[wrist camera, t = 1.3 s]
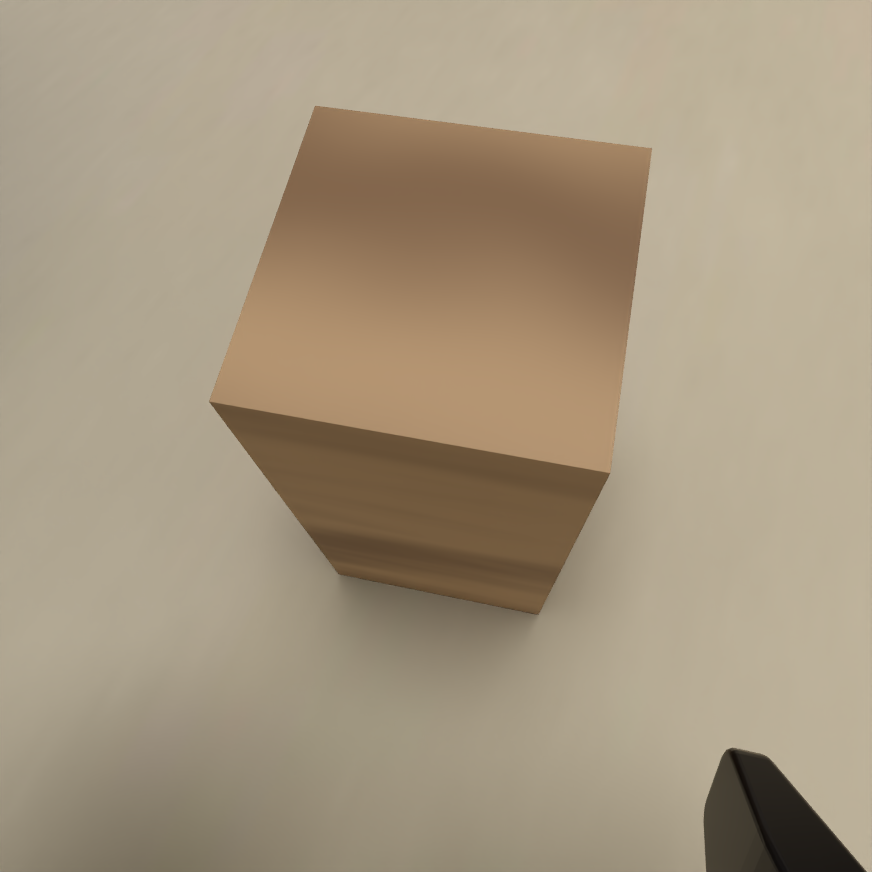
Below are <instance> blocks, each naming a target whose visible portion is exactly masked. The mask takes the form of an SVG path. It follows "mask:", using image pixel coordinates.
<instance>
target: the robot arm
mask: <svg viewBox="0 0 872 872" xmlns="http://www.w3.org/2000/svg"><path fill="white" fill-rule="evenodd" d="M704 839H705V857H706V872H866V870H865V869H864V868H863V867H862V866H861V865H860V863H859V862H858V861H857V860H856V859H855V858H854V856H853V855H852V854H851V853H850V852H849V850H848V849H847V848H846V847H845V846H844V845H843V843H842V842H841V841H840V840H839V839H838V838H837V836H836V835H835V834H834V833H833V832H832V831H831V829H830V828H829V827H828V826H827V825H826V824H825V822H824V821H823V820H822V819H821V818H820V817H819V815H818V814H817V813H816V812H815V811H814V810H813V808H812V807H811V806H810V805H809V804H808V803H807V801H806V800H805V799H804V798H803V797H802V795H801V794H800V793H799V792H798V791H797V790H796V788H795V787H794V786H793V785H792V784H791V783H790V781H789V780H788V779H787V778H786V777H785V776H784V774H783V773H782V772H781V771H780V770H779V769H778V767H777V766H776V765H775V764H774V763H773V762H772V761H771V760H770V759H769V758H768V757H767V756H765V755H763V754H759V753H755V752H750V751H746V750H741V749H737V748H730V749H728V750H726V751H725V753H724V754H723V756H722V758H721V761H720V763H719V766H718V769H717V772H716V774H715V777H714V780H713V783H712V786H711V788H710V791H709V794H708V797H707V800H706V804H705V809H704Z"/></svg>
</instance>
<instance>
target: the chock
mask: <svg viewBox="0 0 872 872" xmlns="http://www.w3.org/2000/svg"><path fill="white" fill-rule="evenodd" d="M651 152H652V148H644V147H636V146H628V145H620V144H612V143H604V142H596V141H589V140H581V139H573V138H565V137H557V136H549V135H541V134H533V133H526V132H518V131H510V130H502V129H494V128H486V127H478V126H470V125H462V124H455V123H447V122H439V121H431V120H423V119H415V118H407V117H399V116H391V115H384V114H376V113H368V112H360V111H352V110H344V109H336V108H328V107H321V106H315V108H314V110H313V113H312V116H311V119H310V122H309V124H308V127H307V130H306V133H305V136H304V138H303V141H302V144H301V147H300V149H299V152H298V155H297V158H296V161H295V163H294V166H293V169H292V172H291V175H290V177H289V180H288V183H287V186H286V188H285V191H284V194H283V197H282V200H281V202H280V205H279V208H278V211H277V214H276V216H275V219H274V222H273V225H272V228H271V230H270V233H269V236H268V239H267V241H266V244H265V247H264V250H263V253H262V255H261V258H260V261H259V264H258V267H257V269H256V272H255V275H254V278H253V280H252V283H251V286H250V289H249V292H248V294H247V297H246V300H245V303H244V306H243V308H242V311H241V314H240V317H239V320H238V322H237V325H236V328H235V331H234V333H233V336H232V339H231V342H230V345H229V347H228V350H227V353H226V356H225V359H224V361H223V364H222V367H221V370H220V373H219V375H218V378H217V381H216V384H215V386H214V389H213V392H212V395H211V398H210V400H209V402H210V403H211V405H212V406H213V407H214V409H215V410H216V411H217V413H218V414H219V415H220V417H221V418H222V419H223V421H224V422H225V423H226V425H227V426H228V427H229V429H230V430H231V431H232V433H233V434H234V435H235V437H236V438H237V439H238V441H239V442H240V443H241V445H242V446H243V447H244V449H245V450H246V451H247V453H248V454H249V455H250V457H251V458H252V459H253V461H254V462H255V463H256V465H257V466H258V467H259V469H260V470H261V471H262V473H263V474H264V475H265V477H266V478H267V479H268V481H269V482H270V483H271V485H272V486H273V487H274V489H275V490H276V491H277V493H278V494H279V495H280V497H281V498H282V499H283V501H284V502H285V503H286V505H287V506H288V507H289V509H290V510H291V511H292V513H293V514H294V515H295V517H296V518H297V519H298V521H299V522H300V523H301V525H302V526H303V527H304V529H305V530H306V531H307V533H308V534H309V535H310V537H311V538H312V539H313V540H314V542H315V543H316V544H317V546H318V547H319V548H320V550H321V551H322V552H323V554H324V555H325V556H326V558H327V559H328V560H329V562H330V563H331V564H332V566H333V567H334V568H335V570H336V571H337V572H338V574H341V575H346V576H351V577H356V578H360V579H365V580H370V581H375V582H380V583H385V584H390V585H395V586H400V587H405V588H410V589H415V590H420V591H424V592H429V593H434V594H439V595H444V596H449V597H454V598H459V599H464V600H469V601H474V602H479V603H484V604H488V605H493V606H498V607H503V608H508V609H513V610H518V611H523V612H528V613H533V614H539V612H540V610H541V608H542V606H543V604H544V602H545V600H546V599H547V597H548V595H549V593H550V591H551V589H552V587H553V585H554V583H555V581H556V579H557V577H558V575H559V573H560V571H561V569H562V567H563V565H564V563H565V561H566V559H567V557H568V555H569V553H570V551H571V549H572V547H573V545H574V543H575V541H576V539H577V537H578V535H579V533H580V532H581V530H582V528H583V526H584V524H585V522H586V520H587V518H588V516H589V514H590V512H591V510H592V508H593V506H594V504H595V502H596V500H597V498H598V496H599V494H600V492H601V490H602V488H603V486H604V484H605V482H606V480H607V478H608V476H609V474H610V470H611V463H612V455H613V447H614V439H615V431H616V424H617V416H618V408H619V400H620V393H621V385H622V377H623V369H624V361H625V354H626V346H627V338H628V330H629V323H630V315H631V307H632V299H633V292H634V284H635V276H636V268H637V260H638V253H639V245H640V237H641V229H642V222H643V214H644V206H645V198H646V190H647V183H648V175H649V167H650V159H651Z"/></svg>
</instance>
